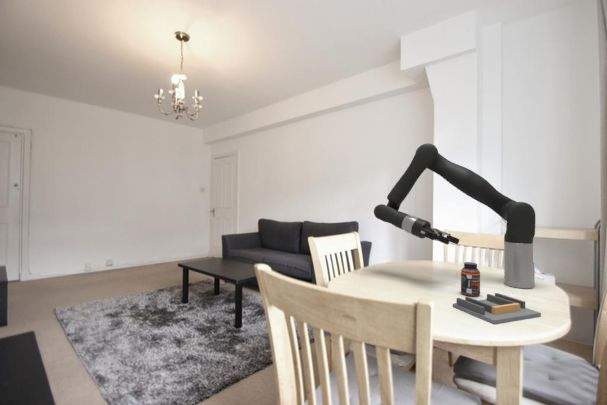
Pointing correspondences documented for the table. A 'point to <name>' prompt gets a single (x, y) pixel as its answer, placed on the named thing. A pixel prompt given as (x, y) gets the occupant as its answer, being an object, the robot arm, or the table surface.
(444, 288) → the table surface
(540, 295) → the table surface
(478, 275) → the supplement bottle
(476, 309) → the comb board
